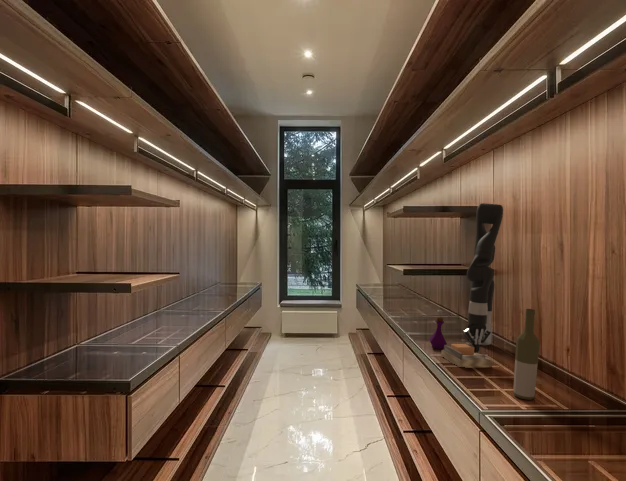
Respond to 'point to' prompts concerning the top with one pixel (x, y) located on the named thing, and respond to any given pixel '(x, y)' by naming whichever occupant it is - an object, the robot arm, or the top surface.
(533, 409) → the top surface
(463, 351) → the orange box with handle
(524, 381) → the bottle
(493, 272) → the robot arm
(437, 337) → the perfume bottle
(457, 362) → the dock
